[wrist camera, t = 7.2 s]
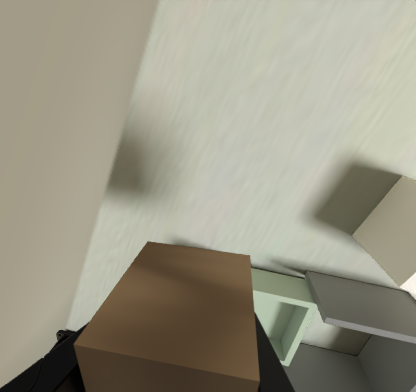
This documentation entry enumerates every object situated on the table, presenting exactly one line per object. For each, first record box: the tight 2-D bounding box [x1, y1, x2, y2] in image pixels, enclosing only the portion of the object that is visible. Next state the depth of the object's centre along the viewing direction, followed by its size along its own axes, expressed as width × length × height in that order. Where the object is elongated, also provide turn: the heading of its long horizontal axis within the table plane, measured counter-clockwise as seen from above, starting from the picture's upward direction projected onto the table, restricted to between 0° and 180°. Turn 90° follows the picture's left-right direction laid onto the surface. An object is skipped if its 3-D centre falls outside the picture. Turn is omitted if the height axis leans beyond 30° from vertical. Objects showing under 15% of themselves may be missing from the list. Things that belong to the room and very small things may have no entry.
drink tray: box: [251, 268, 317, 366], centre depth 22 cm, size 10×20×5 cm, turn 172°
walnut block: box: [73, 242, 260, 392], centre depth 8 cm, size 4×4×4 cm
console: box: [282, 271, 416, 392], centre depth 21 cm, size 9×20×5 cm, turn 172°
